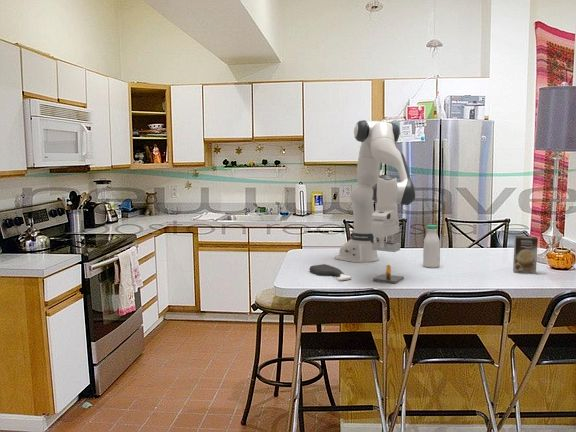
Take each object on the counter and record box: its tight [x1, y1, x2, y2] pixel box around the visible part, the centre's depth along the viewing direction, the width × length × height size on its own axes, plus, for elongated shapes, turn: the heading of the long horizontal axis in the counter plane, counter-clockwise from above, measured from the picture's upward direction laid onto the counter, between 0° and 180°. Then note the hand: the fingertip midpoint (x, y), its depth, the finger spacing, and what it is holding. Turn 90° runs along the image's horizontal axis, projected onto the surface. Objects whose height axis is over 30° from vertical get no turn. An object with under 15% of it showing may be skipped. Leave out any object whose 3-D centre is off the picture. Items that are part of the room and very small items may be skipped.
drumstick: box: [309, 263, 352, 282], centre depth 233 cm, size 3×11×24 cm
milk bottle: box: [422, 224, 441, 269], centre depth 247 cm, size 8×8×20 cm
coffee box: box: [512, 235, 539, 275], centre depth 232 cm, size 9×6×16 cm
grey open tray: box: [372, 240, 401, 253], centre depth 220 cm, size 10×6×3 cm, turn 56°
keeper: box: [372, 264, 405, 285], centre depth 221 cm, size 10×10×7 cm
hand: (386, 246), depth 219 cm, fingers closed on grey open tray, 6 cm apart
